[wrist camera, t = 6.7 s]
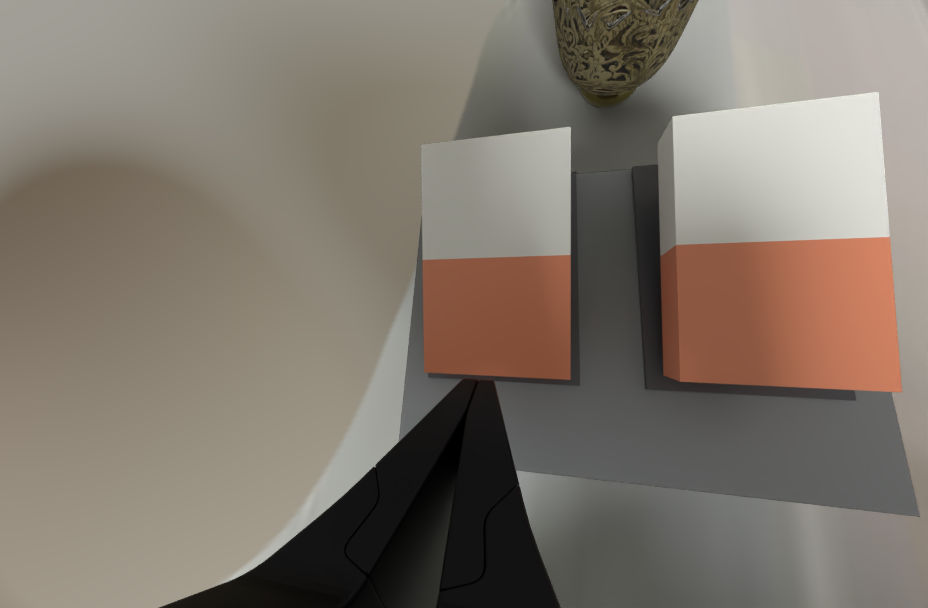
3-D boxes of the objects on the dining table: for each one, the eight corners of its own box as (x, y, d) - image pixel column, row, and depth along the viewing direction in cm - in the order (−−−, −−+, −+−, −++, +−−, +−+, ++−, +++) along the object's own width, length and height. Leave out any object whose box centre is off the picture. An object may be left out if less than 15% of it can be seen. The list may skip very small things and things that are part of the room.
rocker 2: (839, 382, 11) (901, 392, 9) (659, 374, 12) (679, 381, 10) (823, 132, 11) (878, 92, 10) (654, 149, 13) (672, 116, 11)
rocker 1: (568, 366, 13) (570, 379, 11) (441, 361, 14) (424, 372, 13) (568, 151, 13) (570, 126, 11) (438, 164, 14) (420, 144, 12)
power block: (774, 473, 16) (931, 526, 10) (447, 440, 20) (393, 461, 14) (740, 234, 19) (841, 145, 13) (460, 246, 23) (422, 183, 17)
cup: (611, 29, 25) (636, -131, 17) (695, 83, 22) (766, -76, 15) (528, 96, 25) (518, -33, 18) (602, 157, 23) (627, 38, 15)
